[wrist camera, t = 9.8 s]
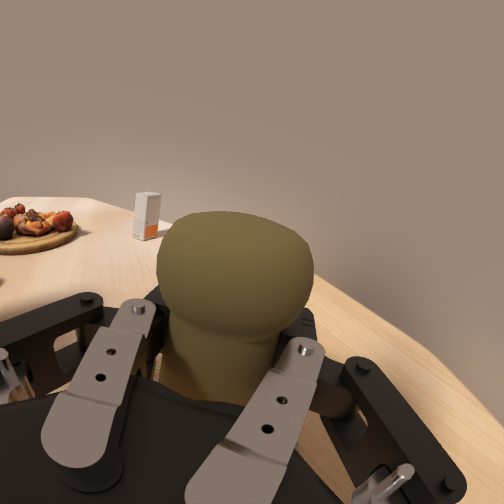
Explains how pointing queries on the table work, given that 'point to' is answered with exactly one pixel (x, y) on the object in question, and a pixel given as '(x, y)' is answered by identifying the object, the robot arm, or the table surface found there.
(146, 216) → the skincare box
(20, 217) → the wooden plate with food
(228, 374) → the cork
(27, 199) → the table surface
